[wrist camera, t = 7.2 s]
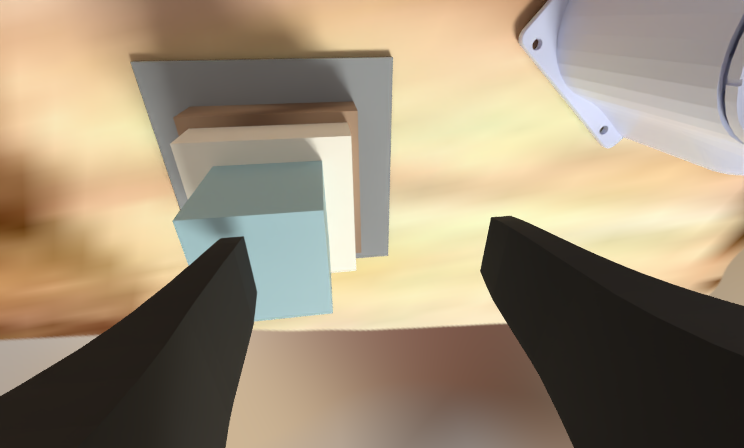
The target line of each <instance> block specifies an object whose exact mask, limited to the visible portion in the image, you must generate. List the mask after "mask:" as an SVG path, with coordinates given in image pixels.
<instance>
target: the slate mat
mask: <svg viewBox="0 0 744 448" xmlns="http://www.w3.org/2000/svg"><path fill="white" fill-rule="evenodd" d="M131 65H132V68H133V71H134V74H135V77H136V80H137V83H138V86H139V89H140V92H141V95H142V98H143V101H144V104H145V107H146V110H147V113H148V116H149V118H150V121H151V124H152V127H153V130H154V133H155V136H156V139H157V142H158V145H159V148H160V151H161V154H162V157H163V160H164V163H165V166H166V169H167V172H168V175H169V178H170V180H171V183H172V186H173V189H174V192H175V195H176V198H177V201H178V204H179V207H180V210H181V209H182V207H183V206H184V205H185V203H186V202H187V201H188V199H187V196H186V193H185V189H184V186H183V183H182V180H181V177H180V174H179V171H178V168H177V164H176V161H175V158H174V155H173V152H172V149H171V146H170V143H172V142H173V141H174V140H175V139H177V138H178V137H179V135H178V132H177V128H176V125H175V122H174V119H173V117H175V116H176V115H178V114H179V113H181V112H182V111H184V110H185V109H187V108H188V107H193V106H224V105H255V104H286V103H317V102H348V101H354V104H355V106H356V108H357V110H358V140H359V179H360V217H361V253H356V258H365V257H376V256H388V236H389V195H390V154H391V113H392V71H393V57H354V58H297V59H239V60H182V61H133V62H131Z"/></svg>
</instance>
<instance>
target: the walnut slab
mask: <svg viewBox="0 0 744 448" xmlns="http://www.w3.org/2000/svg"><path fill="white" fill-rule="evenodd" d="M173 119H174V122H175V125H176V128H177V132H178V135H179V136H180V135H181V134H183V133H184V132H185V131H186V130H188V129H191V128H216V127H242V126H267V125H293V124H318V123H343V122H347V123H348V126H349V130H350V133H351V144H352V171H353V198H354V225H355V252H356V253H361V217H360V179H359V140H358V110H357V108H356V106H355V104H354V101H348V102H317V103H286V104H255V105H224V106H193V107H188V108H187V109H185V110H184V111H182V112H181V113H179V114H178V115H176V116H175V117H173Z"/></svg>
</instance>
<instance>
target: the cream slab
mask: <svg viewBox="0 0 744 448" xmlns="http://www.w3.org/2000/svg"><path fill="white" fill-rule="evenodd" d="M170 146H171V149H172V152H173V155H174V158H175V161H176V164H177V168H178V171H179V174H180V177H181V180H182V183H183V186H184V189H185V193H186V196H187V199H189V198H190V196H191V195H192V194H193V192H194V191H195V190H196V188H197V187H198V186H199V184H200V183H201V182H202V180H203V179H204V177H205V176H206V175H207V173H208V172H209V171H210V169H211V168H212V167H213V166H229V165H248V164H267V163H286V162H305V161H322V165H323V176H324V188H325V200H326V211H327V223H328V234H329V246H330V265H331V273H334V272H346V271H356V252H355V225H354V198H353V171H352V144H351V133H350V130H349V126H348V123H347V122H343V123H318V124H293V125H267V126H242V127H216V128H191V129H188V130H186V131H185V132H184V133H183V134H181V135H180V136H179V137H178V138H177V139H175V140H174V141H173V142H172V143H170Z"/></svg>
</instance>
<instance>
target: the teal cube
mask: <svg viewBox="0 0 744 448" xmlns="http://www.w3.org/2000/svg"><path fill="white" fill-rule="evenodd" d="M173 223H174V226H175V229H176V232H177V235H178V237H179V240H180V243H181V246H182V248H183V251H184V254H185V257H186V259H187V262H188V265H190V264H191V263H193V262H194V261H195V260H196V259H197V258H198V257H199V256H200V255H202V254H203V253H204V252H205V251H206V250H207V249H208V248H209V247H211V246H212V245H213V244H214V243H215V242H217V241H218V240H219V239H220V238H228V237H241V236H244V239H245V243H246V247H247V251H248V256H249V260H250V264H251V268H252V272H253V277H254V281H255V285H256V289H257V300H256V309H255V317H254V321H262V320H272V319H282V318H291V317H301V316H310V315H320V314H330V313H333V306H332V286H331V265H330V246H329V234H328V223H327V211H326V200H325V188H324V176H323V165H322V161H305V162H286V163H267V164H248V165H229V166H213V167H212V168H211V169H210V171H209V172H208V173H207V175H206V176H205V177H204V179H203V180H202V182H201V183H200V184H199V186H198V187H197V188H196V190H195V191H194V192H193V194H192V195H191V196H190V198H189V199H188V201H187V202H186V203H185V205H184V206H183V207H182V209H181V210H180V211H179V213H178V214H177V215H176V217H175V218H174V220H173Z"/></svg>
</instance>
